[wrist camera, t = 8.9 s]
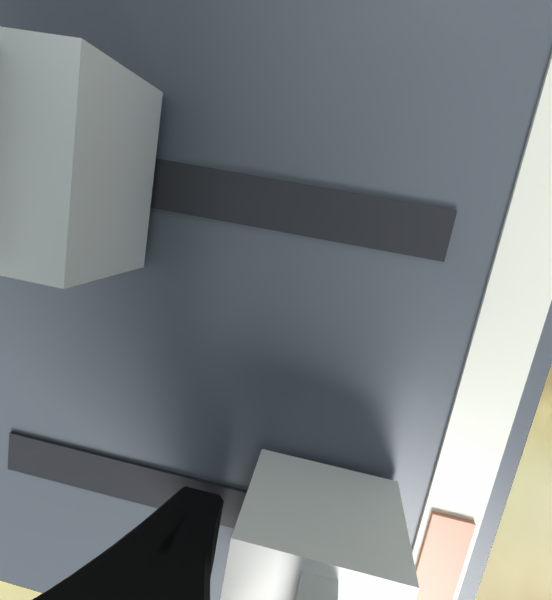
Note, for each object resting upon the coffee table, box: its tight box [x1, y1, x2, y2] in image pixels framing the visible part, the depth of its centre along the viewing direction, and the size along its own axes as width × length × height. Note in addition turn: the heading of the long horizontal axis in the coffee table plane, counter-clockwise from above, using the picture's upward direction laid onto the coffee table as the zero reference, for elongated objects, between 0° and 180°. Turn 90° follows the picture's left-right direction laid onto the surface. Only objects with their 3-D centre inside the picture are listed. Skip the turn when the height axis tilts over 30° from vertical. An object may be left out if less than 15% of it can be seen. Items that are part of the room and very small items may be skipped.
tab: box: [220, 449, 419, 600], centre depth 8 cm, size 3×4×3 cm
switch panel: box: [0, 0, 552, 600], centre depth 10 cm, size 16×22×2 cm
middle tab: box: [0, 26, 163, 289], centre depth 8 cm, size 3×4×3 cm
